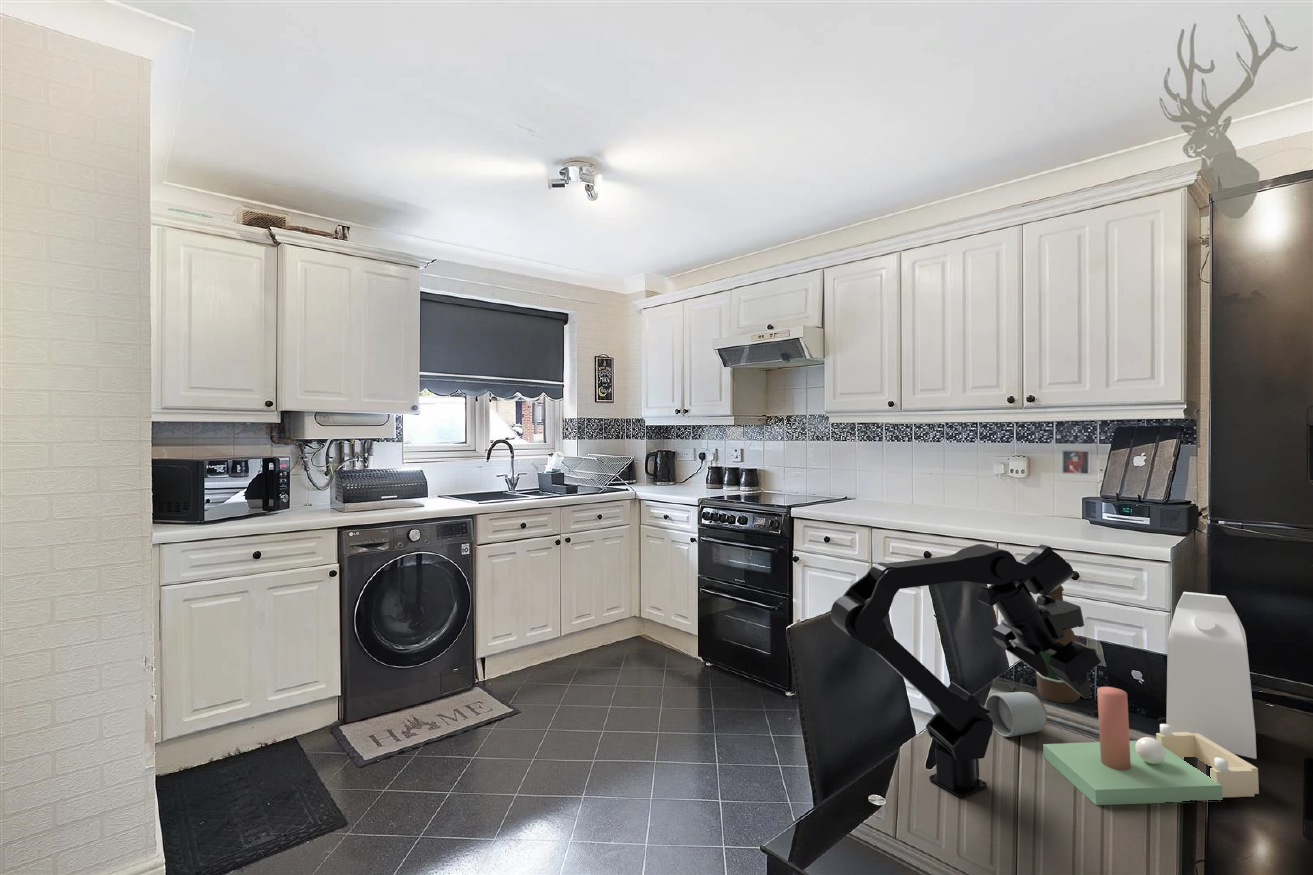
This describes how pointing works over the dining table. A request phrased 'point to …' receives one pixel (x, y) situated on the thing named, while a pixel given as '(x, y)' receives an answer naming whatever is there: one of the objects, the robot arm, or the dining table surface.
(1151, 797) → the pitch
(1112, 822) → the dining table surface
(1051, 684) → the beer bottle
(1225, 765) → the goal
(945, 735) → the robot arm
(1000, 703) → the ceramic mug
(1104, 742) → the salmon pink cylinder
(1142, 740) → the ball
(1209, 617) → the milk
